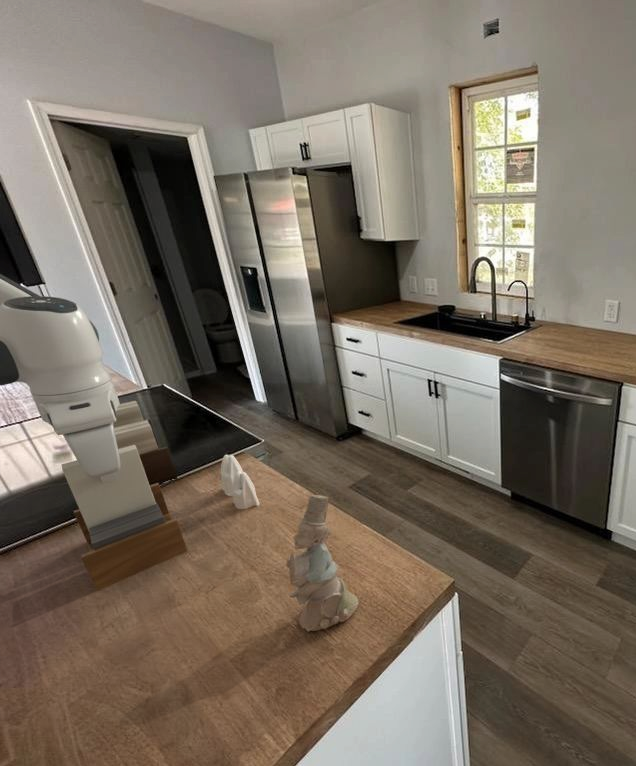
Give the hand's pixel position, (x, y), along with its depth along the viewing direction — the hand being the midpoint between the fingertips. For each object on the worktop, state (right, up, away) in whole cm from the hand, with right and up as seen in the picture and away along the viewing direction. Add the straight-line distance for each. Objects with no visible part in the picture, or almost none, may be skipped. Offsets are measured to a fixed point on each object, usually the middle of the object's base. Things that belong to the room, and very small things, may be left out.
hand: (107, 475), depth 70 cm
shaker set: (+10, -10, +20) cm, 25 cm away
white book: (0, -8, +3) cm, 9 cm away
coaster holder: (0, -16, +6) cm, 17 cm away
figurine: (+39, -21, -4) cm, 45 cm away
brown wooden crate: (-22, -6, +30) cm, 38 cm away
